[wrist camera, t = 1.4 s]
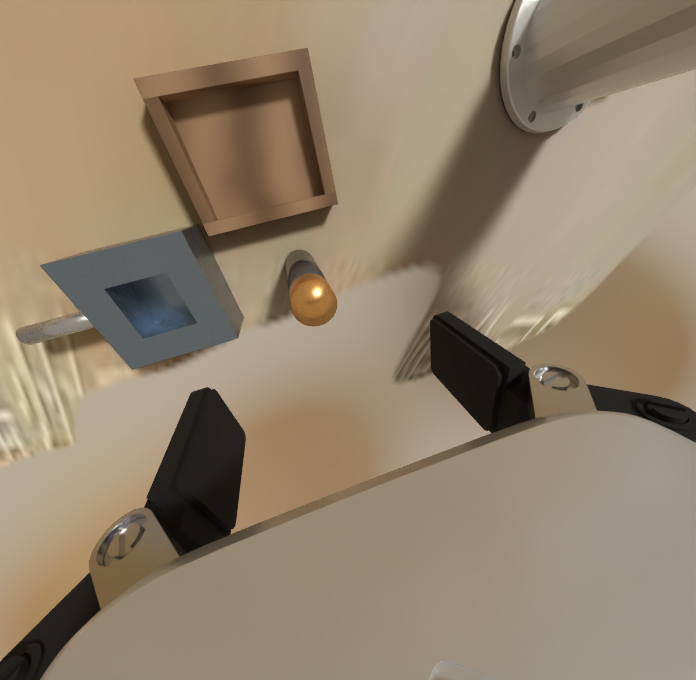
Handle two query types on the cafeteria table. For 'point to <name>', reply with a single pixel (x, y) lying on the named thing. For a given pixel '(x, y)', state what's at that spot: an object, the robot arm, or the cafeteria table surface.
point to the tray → (244, 138)
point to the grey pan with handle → (145, 297)
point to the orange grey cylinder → (309, 290)
